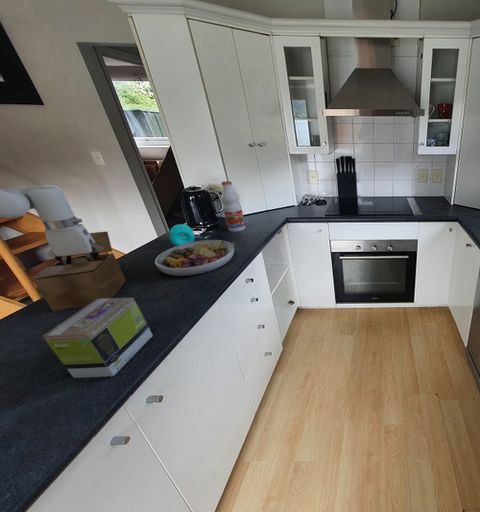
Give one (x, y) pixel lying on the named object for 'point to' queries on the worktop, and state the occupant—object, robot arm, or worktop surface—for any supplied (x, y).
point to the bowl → (195, 257)
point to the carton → (79, 282)
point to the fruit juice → (232, 208)
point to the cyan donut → (181, 230)
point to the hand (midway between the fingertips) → (85, 269)
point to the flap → (101, 241)
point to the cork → (80, 261)
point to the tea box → (100, 337)
